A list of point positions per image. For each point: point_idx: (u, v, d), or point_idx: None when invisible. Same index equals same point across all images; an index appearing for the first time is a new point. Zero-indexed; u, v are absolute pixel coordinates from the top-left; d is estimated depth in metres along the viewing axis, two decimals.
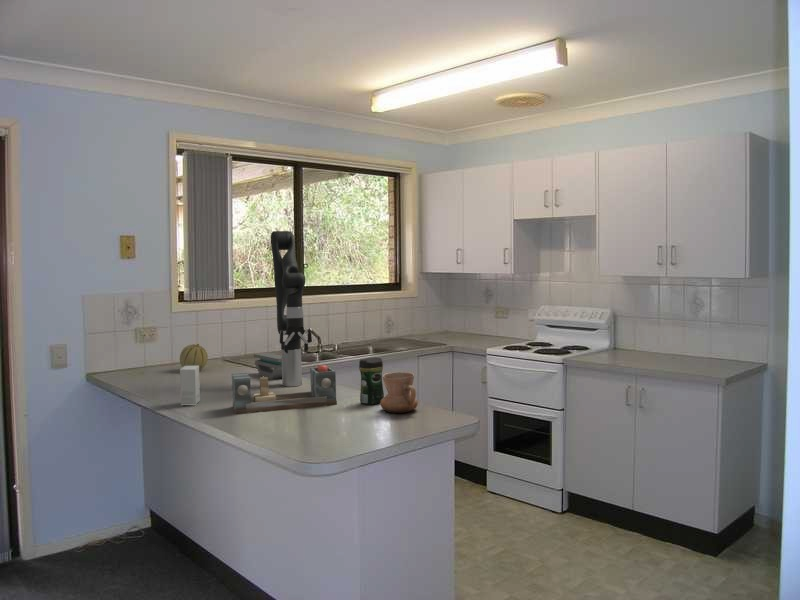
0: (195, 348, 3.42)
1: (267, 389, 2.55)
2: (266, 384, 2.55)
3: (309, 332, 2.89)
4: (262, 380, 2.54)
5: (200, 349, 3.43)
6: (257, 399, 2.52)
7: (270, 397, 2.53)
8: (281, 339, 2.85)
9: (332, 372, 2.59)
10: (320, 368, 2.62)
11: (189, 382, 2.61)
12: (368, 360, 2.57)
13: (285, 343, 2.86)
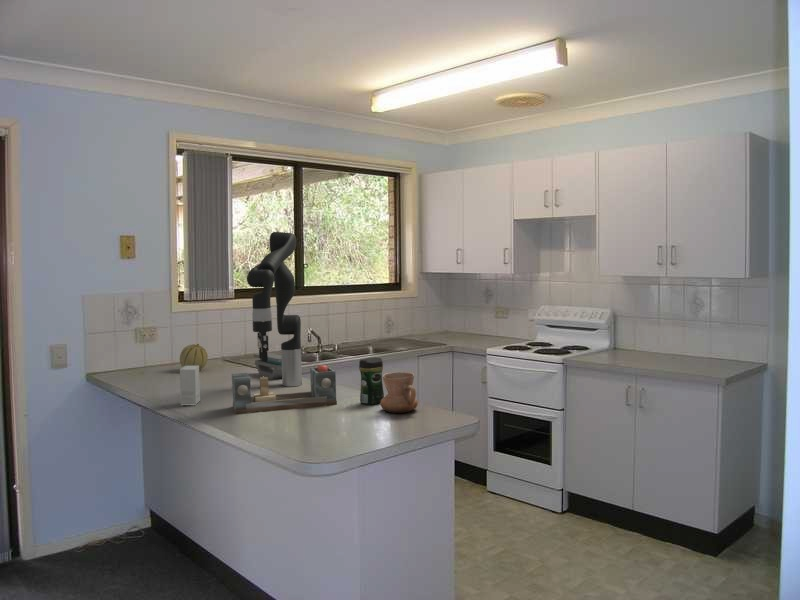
0: (195, 348, 3.42)
1: (267, 389, 2.55)
2: (266, 384, 2.55)
3: None
4: (262, 380, 2.54)
5: (200, 349, 3.43)
6: (257, 399, 2.52)
7: (270, 397, 2.53)
8: None
9: (332, 372, 2.59)
10: (320, 368, 2.62)
11: (189, 382, 2.61)
12: (368, 360, 2.57)
13: None
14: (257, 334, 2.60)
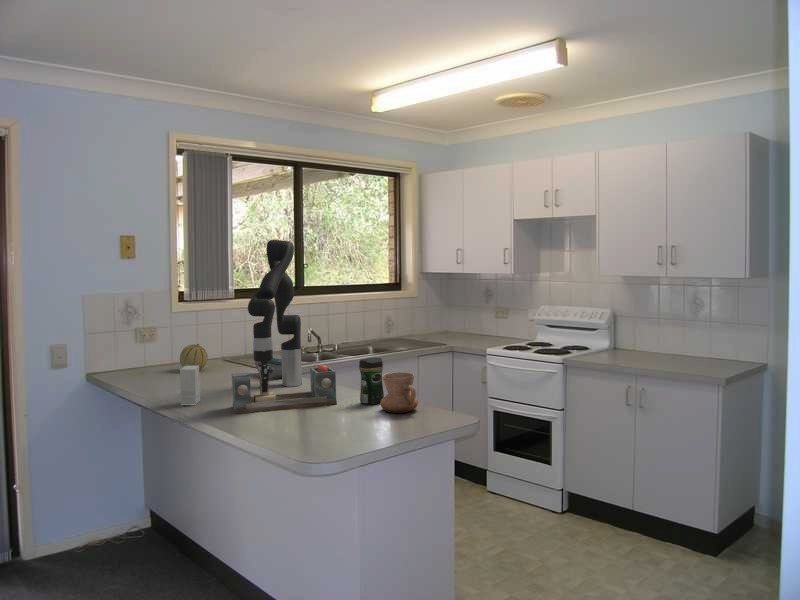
0: (195, 348, 3.42)
1: None
2: None
3: None
4: None
5: (200, 349, 3.43)
6: (257, 399, 2.52)
7: (270, 397, 2.53)
8: None
9: (332, 372, 2.59)
10: (320, 368, 2.62)
11: (189, 382, 2.61)
12: (368, 360, 2.57)
13: None
14: None
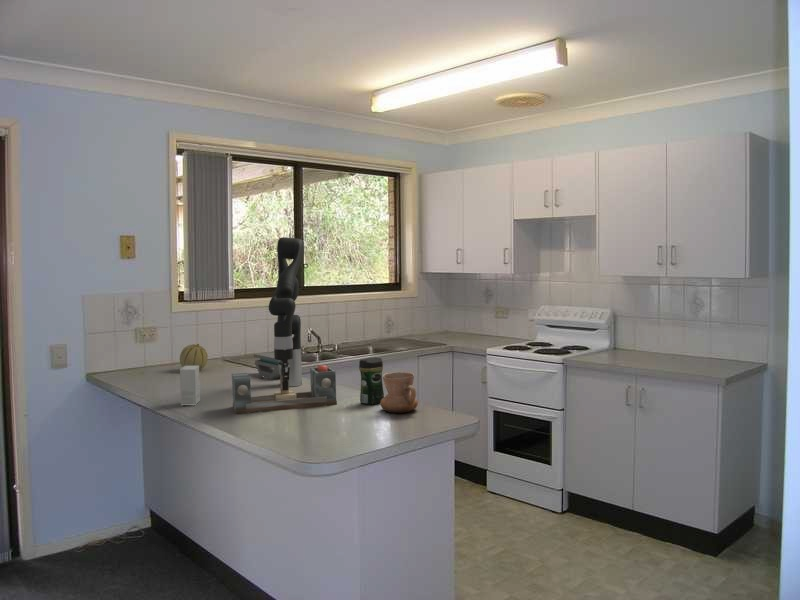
0: (195, 348, 3.42)
1: None
2: None
3: None
4: None
5: (200, 349, 3.43)
6: (278, 397, 2.54)
7: (291, 395, 2.56)
8: (289, 375, 2.54)
9: (332, 372, 2.59)
10: (320, 368, 2.62)
11: (189, 382, 2.61)
12: (368, 360, 2.57)
13: (288, 379, 2.57)
14: None
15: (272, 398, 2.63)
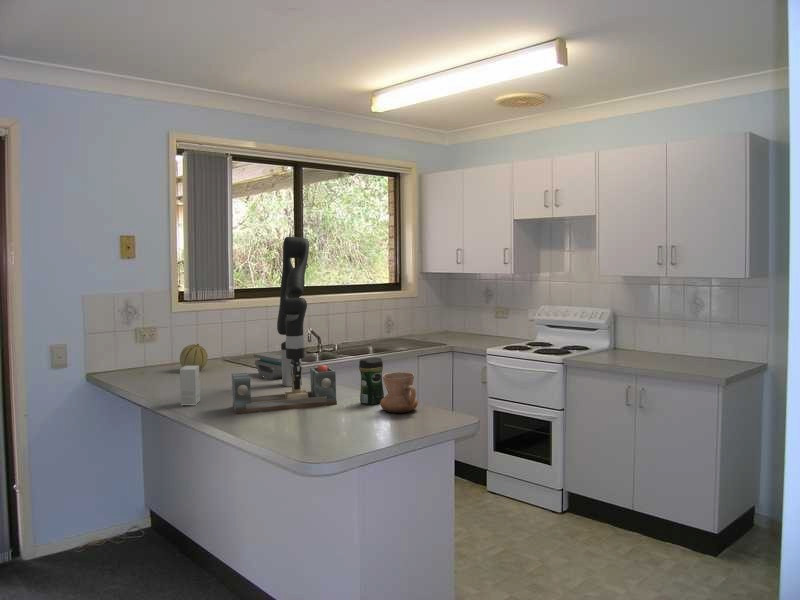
0: (195, 348, 3.42)
1: None
2: None
3: None
4: None
5: (200, 349, 3.43)
6: (290, 396, 2.56)
7: (302, 394, 2.57)
8: (300, 375, 2.56)
9: (332, 372, 2.59)
10: (320, 368, 2.62)
11: (189, 382, 2.61)
12: (368, 360, 2.57)
13: None
14: (290, 363, 2.65)
15: (272, 398, 2.63)
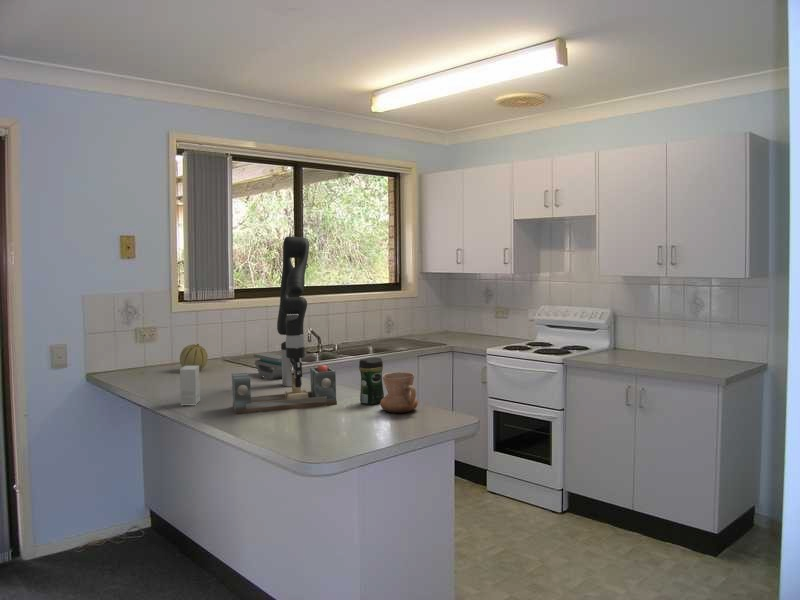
0: (195, 348, 3.42)
1: None
2: None
3: None
4: (294, 377, 2.58)
5: (200, 349, 3.43)
6: (290, 396, 2.56)
7: (302, 394, 2.57)
8: None
9: (332, 372, 2.59)
10: (320, 368, 2.62)
11: (189, 382, 2.61)
12: (368, 360, 2.57)
13: None
14: (290, 359, 2.65)
15: (272, 398, 2.63)
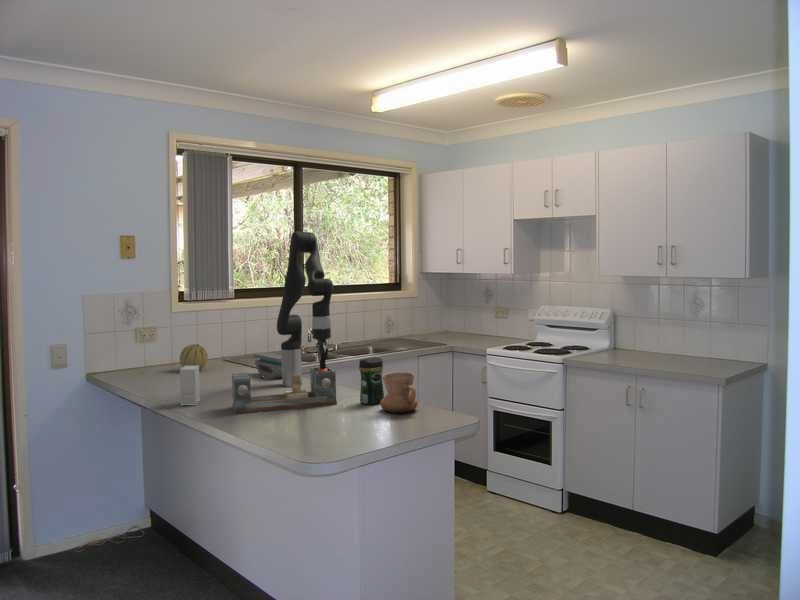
0: (195, 348, 3.42)
1: (299, 386, 2.59)
2: (298, 381, 2.59)
3: None
4: (294, 377, 2.58)
5: (200, 349, 3.43)
6: (290, 396, 2.56)
7: (302, 394, 2.57)
8: None
9: (332, 372, 2.59)
10: (320, 371, 2.62)
11: (189, 382, 2.61)
12: (368, 360, 2.57)
13: None
14: (316, 346, 2.68)
15: (272, 398, 2.63)
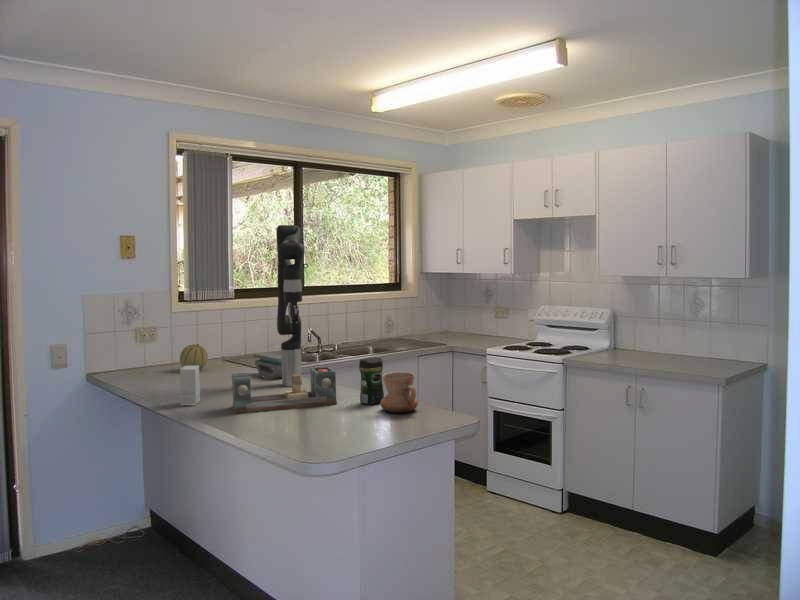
0: (195, 348, 3.42)
1: (299, 386, 2.59)
2: (298, 381, 2.59)
3: None
4: (294, 377, 2.58)
5: (200, 349, 3.43)
6: (290, 396, 2.56)
7: (302, 394, 2.57)
8: (297, 318, 2.64)
9: (332, 372, 2.59)
10: None
11: (189, 382, 2.61)
12: (368, 360, 2.57)
13: None
14: (288, 310, 2.71)
15: (272, 398, 2.63)
